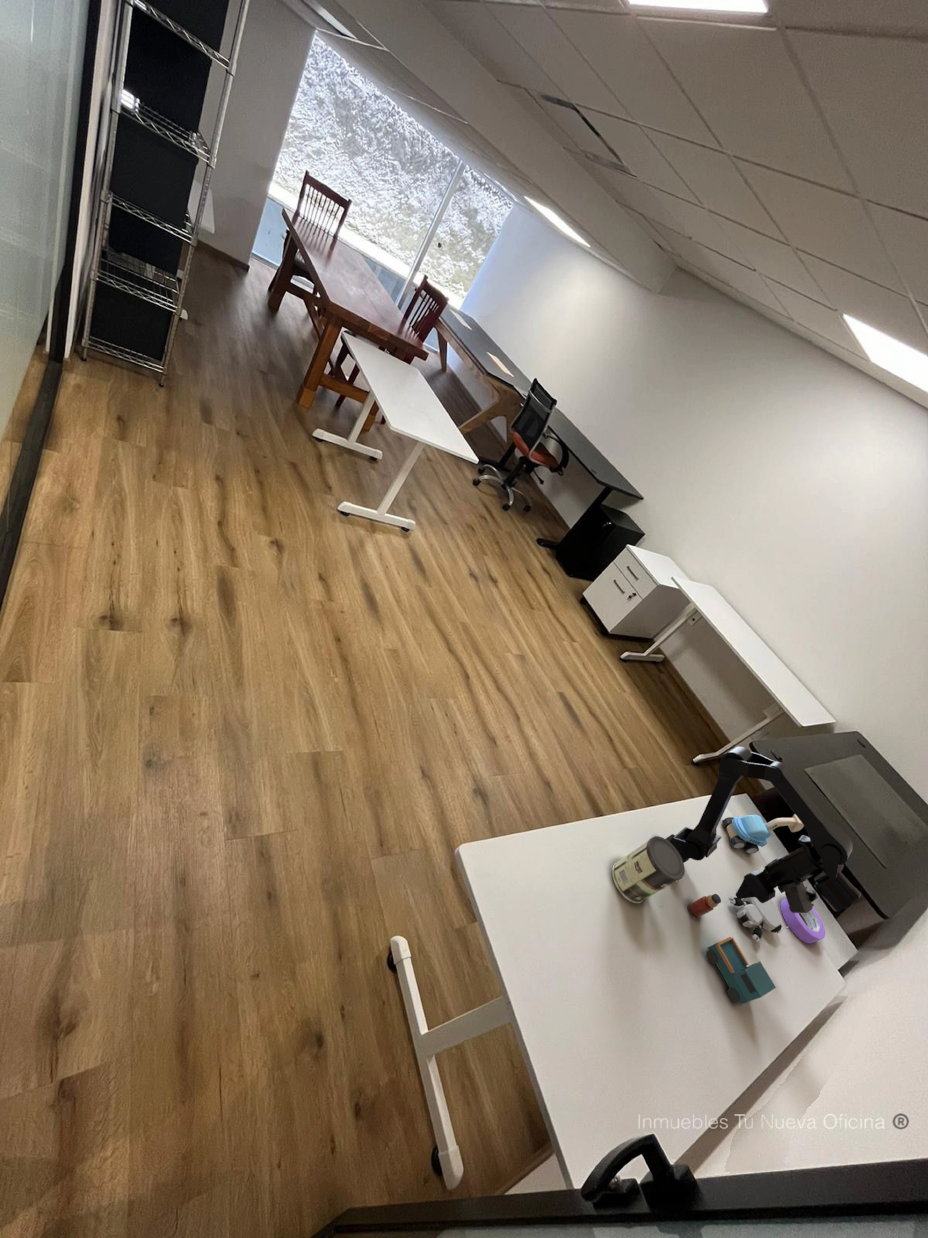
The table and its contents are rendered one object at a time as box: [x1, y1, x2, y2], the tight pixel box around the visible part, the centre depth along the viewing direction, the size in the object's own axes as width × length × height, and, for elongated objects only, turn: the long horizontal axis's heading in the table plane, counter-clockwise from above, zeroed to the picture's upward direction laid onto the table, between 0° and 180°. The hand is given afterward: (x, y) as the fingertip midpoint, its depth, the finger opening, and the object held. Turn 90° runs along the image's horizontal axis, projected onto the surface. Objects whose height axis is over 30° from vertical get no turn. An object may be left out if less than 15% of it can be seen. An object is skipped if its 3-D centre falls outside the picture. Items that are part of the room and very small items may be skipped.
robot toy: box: [728, 896, 789, 943], centre depth 145 cm, size 12×4×15 cm
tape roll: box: [780, 897, 826, 944], centre depth 153 cm, size 12×12×4 cm
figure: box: [687, 893, 722, 920], centre depth 135 cm, size 4×4×8 cm
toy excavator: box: [721, 813, 805, 855], centre depth 163 cm, size 9×17×17 cm, turn 89°
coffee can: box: [611, 835, 686, 904], centre depth 129 cm, size 10×10×14 cm
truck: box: [705, 936, 777, 1006], centre depth 126 cm, size 12×7×8 cm, turn 24°
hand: (745, 892), depth 132 cm, fingers open, 9 cm apart
